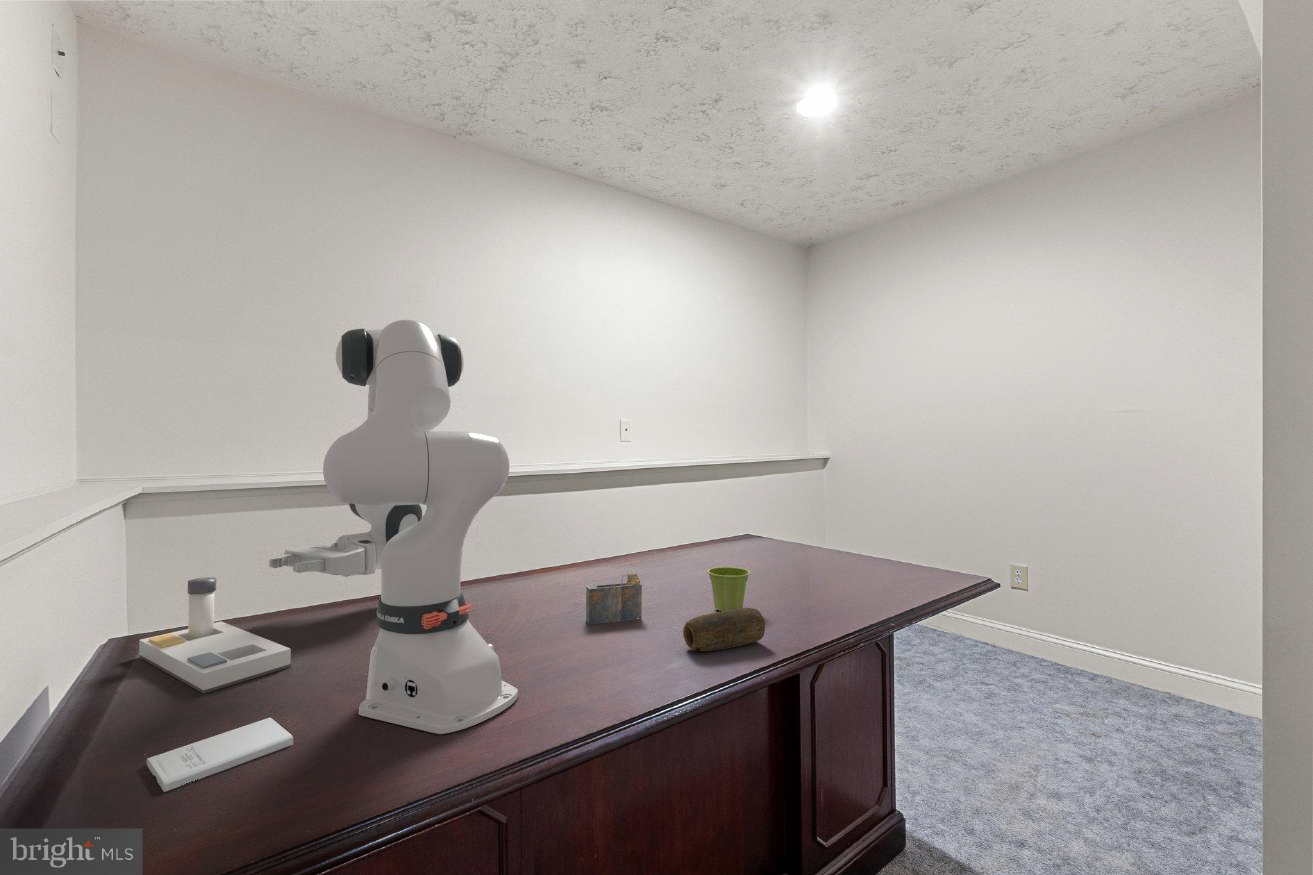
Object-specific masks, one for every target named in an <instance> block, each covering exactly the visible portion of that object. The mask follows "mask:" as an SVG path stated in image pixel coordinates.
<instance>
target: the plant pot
mask: <svg viewBox="0 0 1313 875" xmlns="http://www.w3.org/2000/svg"><path fill="white" fill-rule="evenodd" d="M707 573H708V574H709V580H710V581H711V582H710V583H711V588H712V589H711V590H712V596H713V603H714V609H715V608H716V610H719V611H718V612H720V611H727V610H733V609H739V608H744V600H745V593H746V588H747V581H748V580H749V579H748V578H749V576H750V575H751V571H750V570H748V569H746V568H742V567H741V568H740V567H733V566H720V567H719V566H718V567H713V568H709V569H707ZM716 610H715V611H716Z"/></svg>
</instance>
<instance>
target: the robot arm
mask: <svg viewBox="0 0 1313 875" xmlns="http://www.w3.org/2000/svg"><path fill="white" fill-rule="evenodd" d="M335 362H336V366H337V368H338V371H339V372H340V374H341V375H342V376H341V377H342V378H343V379H344V380H345V381H346V383H348V384H350V385H355V386H359V387H366V386H368V397H367V419H366V420H365V421H364V422H362V423H361V424H360V425H359V426H358V427H356V428H354V429H353V430H351V431H349V432H347V433H344V434H343V435H340V436H339V437H338V438H337V439H336V440H334V442H333V443H332V444H331V445H330V447H329V448H328V449H327V452H326V453H325V456H324V460H323V465H322V474H323V479H324V482H325V484H326V488H328V491H329V492H330V493H331V494H332V495H333V497H334V498H335V499H337V501H338V502H341V503H345V504H348V505H349V506H348V507H349V508H350V511H351V512H352V514H354V515H355V516H357V517H359V518H360V519H361V520H364V521H366V522H367V523H368V524H370V525H371V526H370V530H368V531H367V532H360V533H352V534H351V533H350V534H345V535H341V536H339V537H338V538H337V539H336V541H335V542H333V543H332V544H331V545H329V546H328V545H309V546H300V547H291V548H287V549H285V550H284V554H283V555H281V556H279V557H273V558H270V559H269V560H268V567H269V568H271V569H278V568H283V567H289V568H292V571H293V573H297V574H300V573H301V574H302V573H307V572H309V573H310V572H313V573H314V572H316V573H320V574H325V575H326V574H327V575H332V576H342V577H344V578H346V577H347V578H349V577H354V576H359V575H363V576H367V575H374V574H375V573H376V570H381V571H380V575H381V576H380V578H381V579H380V581H381V582H380V584H381V585H380V598H379V599H378V601H377V608H376V616H377V618H376V620H377V623H376V624H377V626H378V628H379V631H378V632H379V633H378V634H377V637H376V640H375V642H374V644H373V646H372V649H371V651H370V655H369V665H368V666H369V667H368V675H367V686H366V697H365V699H364V700H363V701H362V702H360V704H359V706H358V715H359V716H361V717H366V718H370V719H374V720H378V721H382V722H387V723H390V724H391V723H392V724H395V725H399V726H403V727H406V728H407V727H408V728H413V729H416V730H420V731H424V732H428V733H432V734H437V735H444V734H449V733H454V732H457V731H461V730H464V729H468V728H470V727H472V726H475V725H477V724H480V723H482V722H484V721H486V720H488V719H491V718H493V717H495V716H496V715H498V714H500V713H501V712H504V710H507V709H508V708H510V707H511V705H513V704H514V703H515V702H516V701H517V699H518V698H519V690H518V688H517V687H515V686H513V685H512V684H510V683H508V682H506V681H504V680H503V679H502V669H501V662H500V658H499V656H498V654H497V653H496V652H495V651H496V650H495V647H494V645H493V644H491V643H487V642H486V641H485V639H484V638H483V637H482V635H481V634H480V633H479V631H477V630H476V628H475V627H474V626H473V625H472V624H471V622H470V621H469V617H470V616H469V613H470V612H473V609H469V608H471V607H472V606H473V605H474V604H473V603H469V604H466V600H465V596H464V593H463V591H461V576H462V575H461V572H462V560H463V559H462V558H463V551H464V550H463V548H464V545H465V540H466V537H467V536H466V535H467V533H468V530H469V528H470V526H471V524H472V523H473V521H474V520H475V518H476V516H477V515H478V513H479V512H480V511H481V509H483V507H484V506H485V505H486V504H488V502H489V501H491V500H492V499H494V497H496V496H497V495H498V494H499V493H500V492H501V490H503V488H504V487H505V485H506V483H507V481H508V478H509V475H510V474H509V473H510V459H509V456H508V452H507V450H506V448H505V446H504V445H503V444H502V442H501V441H500V440H499V439H498V438H497V437H494V436H491V435H485V434H482V433H476V432H470V431H443V430H441V431H440V430H439V431H432V430H433V429H435V428H436V427H437V426H439V425H440V424H441V423H442V421H443V420H445V418H446V417H447V416H448V413H449V412H450V409H451V395H450V391H449V388H450V387H453V386H455V385H456V384H457V383H458V382H459V381H460V378H461V375H462V373H463V370H464V366H465V365H464V364H465V359H464V355H463V352H462V349H461V345H460V343H459V342H458V341H457V340H456V338H454V337H452V336H449V335H446V334H440V333H438V334H437V335H436V334H433V332H432V331H431V329H430V328H428V326H426V325H425V324H423V323H421V322H418V321H416V320H412V319H399V320H395V321H392V322H391V323H389V324H387V325H385V327H384V328H383V329H367V330H366V329H365V328H356V329H350V330H347V331H346V332H344V333H343V334H342V335H341V338H340V340H339V342H338V344H337V346H336V349H335ZM422 505H424V506H426V508H425V513H424V514H423V510H422Z"/></svg>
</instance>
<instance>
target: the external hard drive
mask: <svg viewBox="0 0 1313 875" xmlns="http://www.w3.org/2000/svg"><path fill="white" fill-rule="evenodd" d="M293 745H294V736H293V735H292V734H291V733H290V732H289V731H287V730H286V729H285V728H284V727H282V726H281V725H280V724H279V723H278V722H277V721H276V720H274V719H273V718H272V717H268V718H264V719H262V720H258V721H255V722H252V723H249V724H247V725H244V726H240V727H238V728H234V729H231V730H228V731H225V732H222V733H220V734H217V735H212V736H210V737H207V738H205V739H201V740H199V741H196V742H192V743H189V744H186V745H183V746H181V747H178V748H174V749H171V750H169V751H166V752H163V753H160V754H157V755H154V756H150V757H148V758H146V766H147V768H148V769H149V771H150V773H151V774H152V775H153V776H154V777H155V778H156V781H157V784H158V785H159V786H160V788H161V790H162V791H163V792H164V793H166V792H168V791H171V790H174V789H176V788H179V787H182V786H185V785H187V784H186V783H188V784H190V783H192V782H191V781H193V782H195V780H196V781H198V780H201V779H204V778H206V776H207V777H209V776H212V775H214V774H217V773H220V772H223V771H225V770H228V769H231V768H234V767H236V766H239V765H241V764H245V763H247V762H250V761H253V760H254V759H258V758H260V757H264V756H266V755H269V754H271V753H274V752H277V751H279V750H282V749H284V748H288V747H291V746H293ZM197 779H198V780H197ZM189 782H190V783H189ZM184 784H185V785H184ZM181 785H182V786H181Z"/></svg>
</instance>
